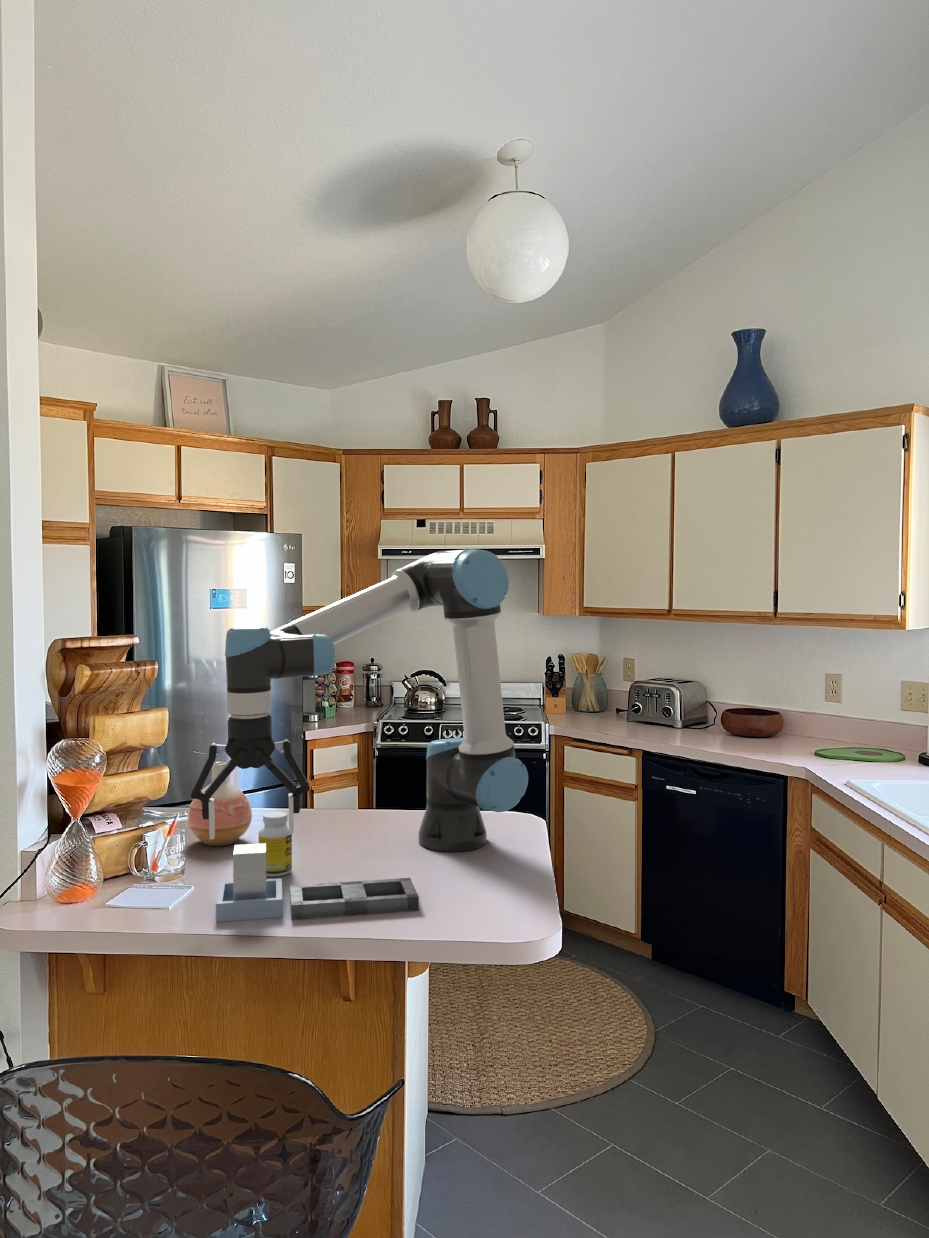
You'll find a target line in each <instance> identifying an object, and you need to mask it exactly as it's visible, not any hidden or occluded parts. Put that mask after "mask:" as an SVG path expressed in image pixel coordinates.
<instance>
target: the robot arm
mask: <svg viewBox="0 0 929 1238" xmlns="http://www.w3.org/2000/svg"><path fill="white" fill-rule="evenodd" d="M509 586H510V578H509V572H508V570H507V568H506V565H505V563H504V562H503V561H502V560H501V558H500V557H498V556H497V555H496V554H494V553H493V552H491V551H488V550H485V549H484V550H483V549H477V548H468V549H457V550H456V549H455V550H454V549H453V550H440V551H436V552H432V553H431V554H428V555H426V556H424V557H422V558H419V559H417V560H415V561H414V562H411V563H408V564H407V565H405V566H403V567H400V568H398V569H396V570H394V571H393V572H392V574H391V576H390V578H388V579H385V580H383V581H381V582H379V583H376V584H374V585H371V586H369V587H368V588H366V589H363V590H361V591H359V592H356V593H354V594H352V595H350V596H347V597H345V598H342V599H341V600H337V601H336V602H333V603H332V604H330V605H326V606H325V607H322V608H320V609H317V610H315V611H314V612H311V613H309V614H306V615H305V616H301V617H300V618H297V619H295V620H293V621H291V622H289V623H287V624H284V625H282V626H280V627H277V628H275V629H269V627H267V626H262V625H261V626H256V625H255V626H254V625H253V626H252V625H251V626H234V627H230V628H229V629H228V630H227V631H226V634H225V647H224V648H225V652H224V656H225V671H226V674H225V675H226V713H227V714H228V715H229V716H228V718H227V743H226V744H218V743H216V742H212V743H210V745H209V748H208V751H209V752H208V758H207V759H206V761H205V764H204V766H203V767H202V770H201V772H200V774H199V776H198V778H197V780H196V783H195V785H194V786H193V789H191V790H192V791H191V793H190V797H191V799H192V800H193V799H198V800H200V801H201V802H202V817H203V819H204V820H206V819H209V835H210V839H214V837H215V813H214V798H211V796H212V795H213V794H214V793H215V791H216V790H217V789H218V788H219V787H220V785H221V784H222V783H223V782H224V780H225V779H226V778H227V779H228V777H229V776H230V775H231V773H232V772H234V770H235V768H237V767H238V768H240V769H241V770H245V769H249V768H254V769H260V768H261V767H263V766H265V767H266V768H267V769H268V770H269V771H271V773H272V774H273V775H274V776H275V777H276V778H277V779H278V780H279V782H281V784H282V785H283V786H284V787H285V788H286V789H287V790H288V791H289V792H290V793H288V826H289V832H290V834H292V835H293V834H295V828H294V827H295V825H294V823H295V822H294V818H295V816H294V815H295V814H299V813H300V811H301V803H300V802H301V798H300V797H301V795H302V794H304V793H307V792H309V791H310V789H311V787H310V783H309V782H308V779H307V777H306V776H305V774H304V772H303V771H302V769H301V767H300V765H299V763H298V761H297V760H296V758H295V755H294V754H293V751H292V749H291V741H290V740H289V738H284V739H283V740H281V741H275V742H274V740H273V731H272V728H273V727H272V720H273V719H272V716H271V714H270V712H271V711H272V685H271V682H272V680H278V679H285V678H288V679H290V678H301V677H303V678H304V677H314V678H315V677H317V676H323V675H328V674H329V673H331V672H332V671H333V669H334V668H335V667H334V666H335V663H336V649H335V645H336V644H337V643H340V642H343V641H344V640H347V639H348V638H351V637H352V636H355V635H357V634H359V633H361V632H363V631H366V630H367V629H369V628H372V627H374V626H377V625H378V624H380V623H383V622H385V621H387V620H389V619H391V618H394V617H395V616H398V615H400V614H402V613H404V612H408V613H413V614H414V613H415V612H417V611H419V610H422V609H426V608H428V607H429V608H430V607H435V606H443V607H442V608H443V614H444V615H443V618H444V620H445V621H446V622H448V624H450V625H451V626H452V630H453V641H454V650H455V659H456V668H457V676H458V677H457V678H458V688H459V697H460V706H461V716H462V726H463V733H464V734H463V736H464V737H453V738H452V737H451V738H443V739H436V740H432V741H430V742H429V743H428V744H427V748H426V756H425V761H426V807H425V808H426V809H425V811H424V813H423V817H422V820H421V823H420V827H419V829H418V844H419V845H420V846H421V847H424V848H426V849H429V850H433V851H434V850H435V851H440V852H463V851H464V852H465V851H472V850H476V849H479V848H481V847H483V846H485V845H486V844H487V836H488V835H487V829H486V826H485V823H484V820H483V817H482V812H481V810H480V809H482V810H484V811H487V812H495V813H504V812H507V811H508V812H509V810H512V809H513V808H514V807H516V806H517V805H518V804H519V802H520V801H521V799H522V797H523V796H524V795H525V794H526V791H527V787H528V784H529V772H528V770H527V768H526V767H527V766H526V765H525V764H524V763H523V762H522V761H521V760H520V759H519V758H516V751H515V743H514V740H512V739H511V738H510V737H509V736H507V734H506V723H505V714H504V705H503V704H504V703H503V695H502V684H501V675H500V672H501V671H500V665H499V662H500V661H499V654H498V645H497V635H496V626H495V625H496V624H495V622H496V621H497V619H498V617H499V616H500V615H501V613H502V609H501V604H502V602H503V601H504V600H505V599H506V597H505V596H506V594H508V591H509V588H510V587H509ZM275 750H278V752H279V754H281V755H283V754H284V758H285V760H286V761H287V763H288V765H289V766H290V768H291V770H292V772H293V775H294V776H295V778H296V779H297V782H298V783H299V785H297V784H296V783H295V781H293V780H292V779H291V777H289V775H288V774H286V772H285V771H284V770H282V768H281V767H280V766H279V765H278V764H277V763H276V762H275V760H274V759H273V758H272V757H271V755H273V752H274V751H275ZM223 752H225V753H226V755H227V756H228V757H229V758H230V760H229V761H228V762H226V763H227V765H226V766H225V767H224V769H223V770H222V771H221V772H220V774H219V775H218V776H217V777H216V778H215V780H214V781H213V782H212V781H211V783H210V784H211V785H210V786H209V787H208V788H207V789H206V791H205V792H203V791H201V790H203V786H204V784H205V782H206V781H207V778H208V776H209V774H210V772H211V771H212V766H213V764H214V763H215V761H216V759H217V758H219V757H221V755H222V754H223Z"/></svg>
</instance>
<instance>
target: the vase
mask: <svg viewBox="0 0 929 1238" xmlns="http://www.w3.org/2000/svg"><path fill="white" fill-rule="evenodd" d="M227 763H228V762H226V761H216V762H214V764H213V766H212V768H211V774H212V775H211V783H212V782H213V781H214V780H215V778H216V777H217V776H218V775H219V774H220V772H221V771H222V770H223V769H224V767H225V766H226V765H227ZM211 783H210V784H207V786H205V787H204V788H202V789H201V791H203V792H205V791H206V789H207V788H208V787H209V786H210V785H211ZM211 798H214V813H215V837H214V839H210V835H209V819H206V820H204V819H203V817H202V802H201V801H200V800H198V799H192V801H191V803H190V804H189V808H188V811H187V825H188V829H189V831H190V833H192V835H193V836H194V837H195V838H197V839H198V840H199V841H200V842H201V843H202V844H204V845H206V846H210V847H211V846H212V847H224V846H228V845H231V844H234V843H236V842H237V841H238V840H239V839H240V838H241V837H242V836H244V835H245V833H246V832H247V830H248V829H249V827H250V825H251V823H252V816H253V814H252V807H251V803H250V801H249V799H248V797H247V795H245V793H244V792H242V790H241V789H239V788H238V787H236V786H235V785H234V784H232V783H231V782H229V781H228V777H227V778H226V779H225V780H224V782H223V783H222V784H221V785H220V787H219V788H218V789H217V790H216V791H215V793H214V794H213V795H212V796H211Z"/></svg>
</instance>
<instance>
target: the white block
mask: <svg viewBox="0 0 929 1238" xmlns="http://www.w3.org/2000/svg"><path fill="white" fill-rule="evenodd" d="M232 860H233V861H232V865H233V866H232V869H233V870H232V873H233V874H232V876H233V877H232V881H233V901H236V900H251V899H266V879H267V876H266V843H262V844H259V843H247V844H244V843H243V844H234V847H233V854H232Z"/></svg>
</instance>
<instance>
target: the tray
mask: <svg viewBox="0 0 929 1238" xmlns="http://www.w3.org/2000/svg"><path fill="white" fill-rule="evenodd" d="M282 881H283V879H282V878H266V899H251V900H236V901H233V880H232V881H220V882H219V885H218V890H217V891H218V892H217V895H216V902H215V923H219V922H229V921H230V922H233V921H235V922H236V921H246V920H250V921H251V920H262V919H275V918H276V919H277V918H283V882H282Z"/></svg>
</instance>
